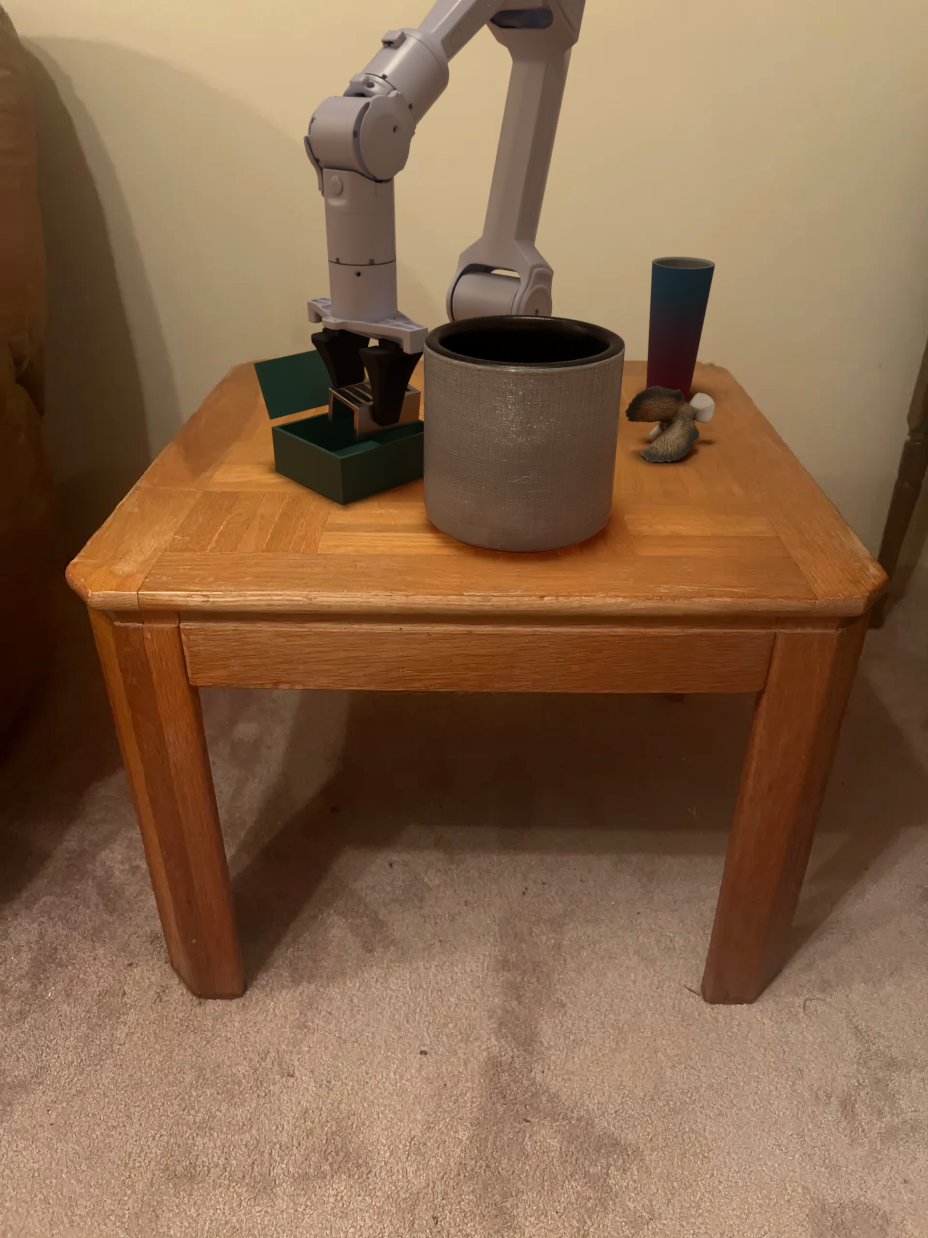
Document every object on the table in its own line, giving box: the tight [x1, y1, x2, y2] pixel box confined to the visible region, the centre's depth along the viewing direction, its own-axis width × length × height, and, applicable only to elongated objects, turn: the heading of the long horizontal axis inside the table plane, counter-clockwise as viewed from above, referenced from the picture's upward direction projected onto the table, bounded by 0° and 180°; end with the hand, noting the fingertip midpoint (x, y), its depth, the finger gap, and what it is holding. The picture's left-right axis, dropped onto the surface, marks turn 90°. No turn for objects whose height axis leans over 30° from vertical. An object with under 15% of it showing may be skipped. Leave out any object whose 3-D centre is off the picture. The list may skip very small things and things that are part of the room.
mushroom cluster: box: [624, 386, 716, 463], centre depth 96 cm, size 8×7×9 cm
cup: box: [645, 256, 716, 401], centre depth 108 cm, size 7×7×15 cm
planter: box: [423, 315, 626, 555], centre depth 78 cm, size 16×16×16 cm
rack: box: [327, 377, 422, 441], centre depth 86 cm, size 7×5×3 cm, turn 131°
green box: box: [271, 411, 424, 506], centre depth 90 cm, size 11×12×4 cm
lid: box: [253, 348, 368, 421], centre depth 91 cm, size 5×12×1 cm
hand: (369, 415), depth 86 cm, fingers closed on rack, 5 cm apart
